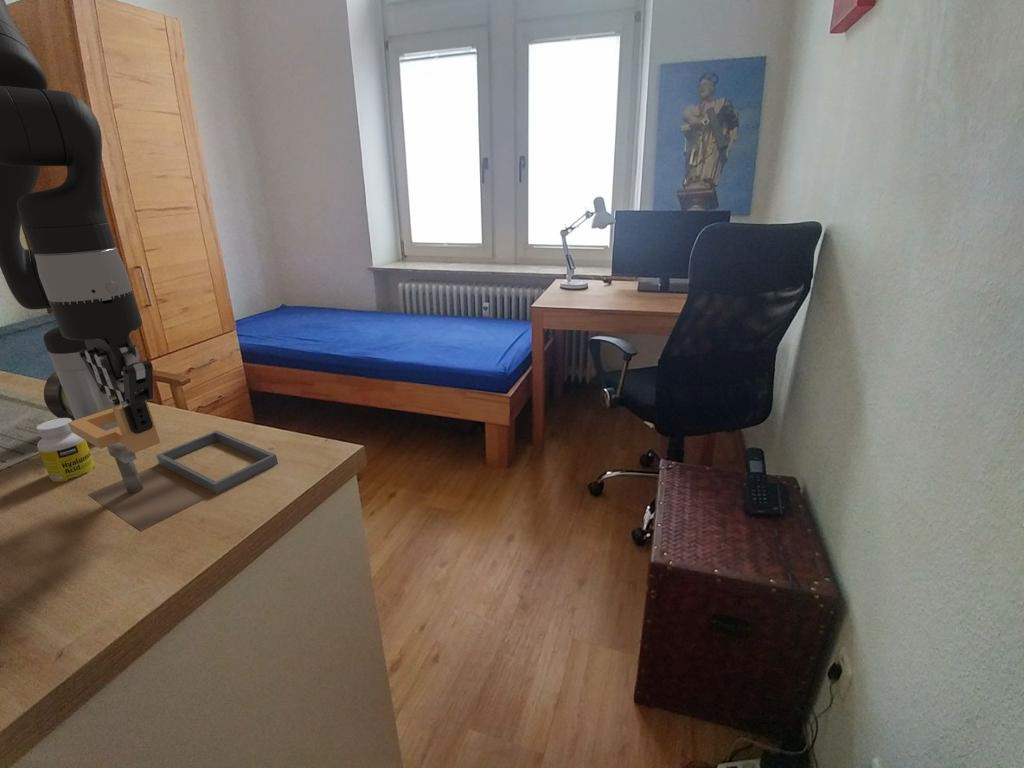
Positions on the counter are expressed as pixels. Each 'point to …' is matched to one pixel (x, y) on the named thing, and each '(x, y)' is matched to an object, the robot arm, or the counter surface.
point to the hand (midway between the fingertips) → (138, 428)
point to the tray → (227, 482)
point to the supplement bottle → (63, 451)
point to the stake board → (142, 493)
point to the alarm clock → (57, 398)
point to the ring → (113, 430)
